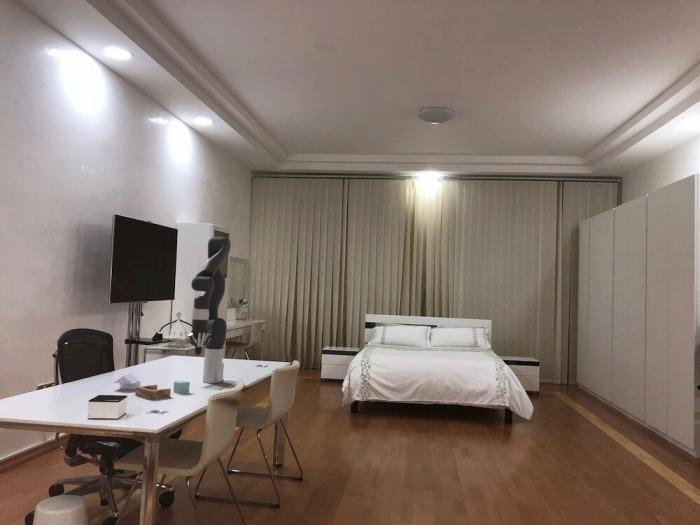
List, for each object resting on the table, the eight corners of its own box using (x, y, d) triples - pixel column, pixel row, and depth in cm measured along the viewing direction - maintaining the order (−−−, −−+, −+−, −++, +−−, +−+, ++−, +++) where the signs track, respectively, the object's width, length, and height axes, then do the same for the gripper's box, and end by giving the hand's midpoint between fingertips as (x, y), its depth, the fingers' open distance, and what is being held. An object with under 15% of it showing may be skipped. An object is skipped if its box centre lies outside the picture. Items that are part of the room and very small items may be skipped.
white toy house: (132, 391, 256) (142, 386, 269) (133, 376, 256) (143, 372, 269) (112, 390, 256) (124, 385, 268) (113, 375, 256) (125, 371, 269)
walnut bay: (154, 392, 255) (155, 384, 255) (170, 397, 248) (170, 388, 248) (135, 395, 248) (135, 386, 248) (150, 399, 240) (150, 391, 240)
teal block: (182, 391, 262) (183, 380, 263) (189, 392, 259) (189, 381, 260) (173, 392, 259) (174, 381, 259) (179, 394, 255) (180, 383, 256)
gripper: (207, 317, 274) (204, 353, 273) (184, 317, 264) (181, 354, 263) (216, 319, 269) (214, 355, 269) (193, 319, 259) (190, 356, 258)
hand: (197, 354), depth 266 cm, fingers closed
